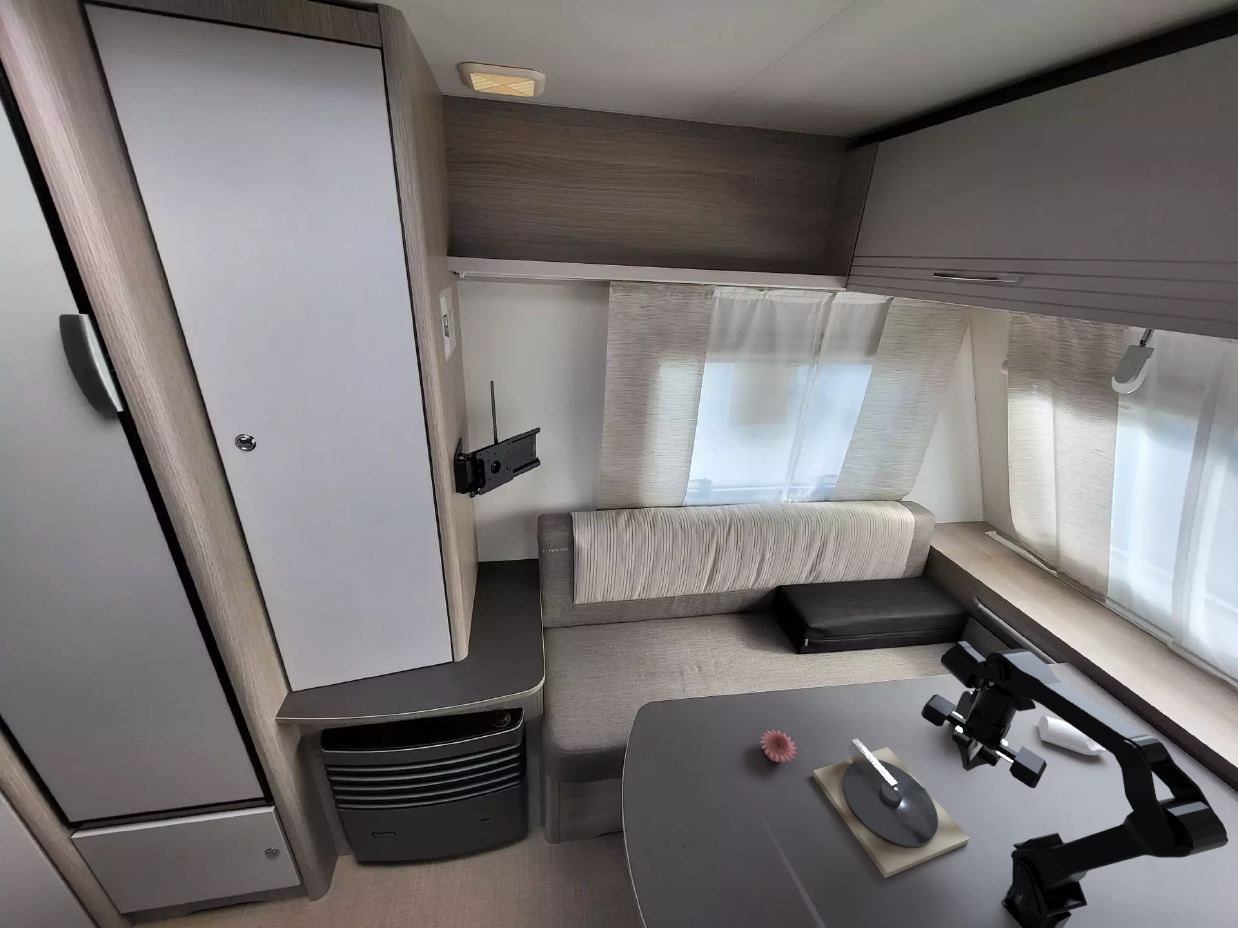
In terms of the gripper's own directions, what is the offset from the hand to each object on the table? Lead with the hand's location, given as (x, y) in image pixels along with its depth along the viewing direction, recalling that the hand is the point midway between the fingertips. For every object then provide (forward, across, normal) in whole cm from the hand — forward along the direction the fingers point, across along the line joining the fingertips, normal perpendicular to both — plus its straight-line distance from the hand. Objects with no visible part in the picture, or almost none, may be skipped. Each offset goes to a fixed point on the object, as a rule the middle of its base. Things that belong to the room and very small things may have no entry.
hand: (966, 768), depth 97 cm
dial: (+10, +8, +10) cm, 16 cm away
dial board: (+12, +8, +10) cm, 17 cm away
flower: (+12, +28, +19) cm, 36 cm away
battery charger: (+12, +4, -23) cm, 26 cm away
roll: (+12, -12, -40) cm, 44 cm away
